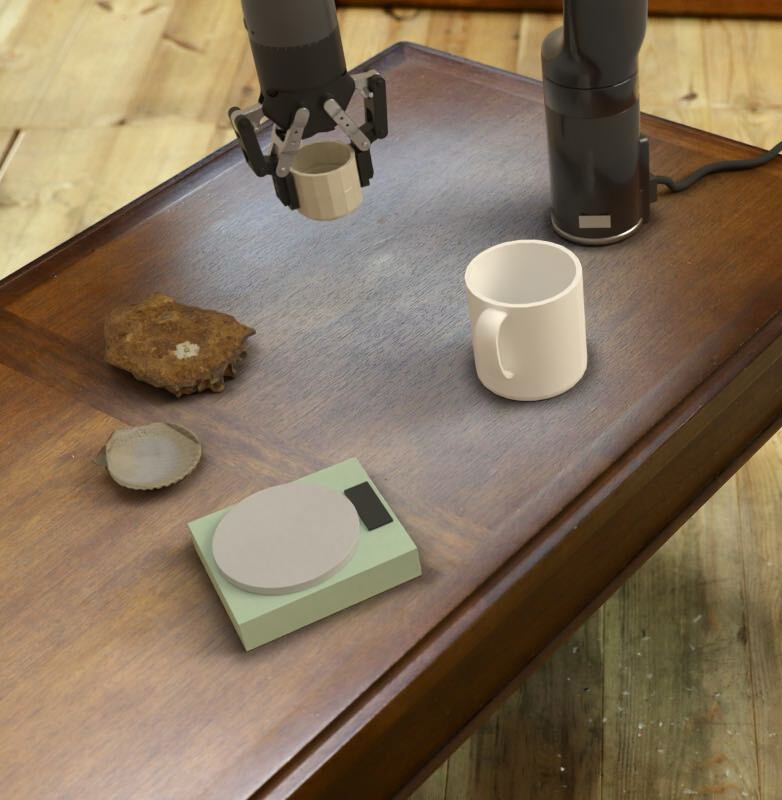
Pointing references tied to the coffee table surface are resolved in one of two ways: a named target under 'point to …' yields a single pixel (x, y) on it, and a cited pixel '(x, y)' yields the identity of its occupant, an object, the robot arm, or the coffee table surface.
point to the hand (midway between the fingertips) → (327, 193)
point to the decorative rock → (175, 344)
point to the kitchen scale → (303, 551)
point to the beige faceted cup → (326, 180)
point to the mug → (527, 319)
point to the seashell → (150, 455)
